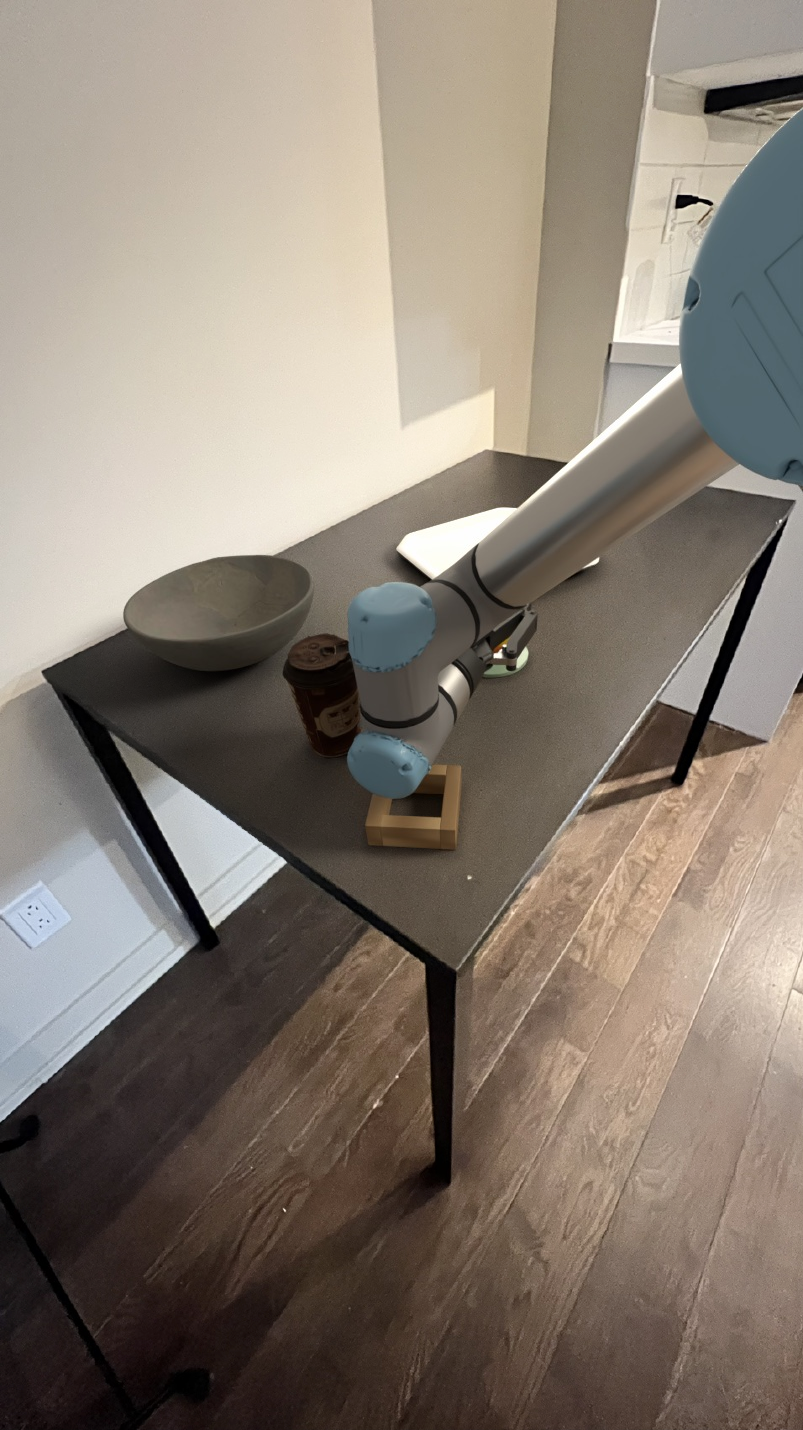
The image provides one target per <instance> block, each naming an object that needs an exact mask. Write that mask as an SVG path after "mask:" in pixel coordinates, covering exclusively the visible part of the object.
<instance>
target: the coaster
mask: <svg viewBox="0 0 803 1430" xmlns="http://www.w3.org/2000/svg"><path fill="white" fill-rule="evenodd" d="M528 649H529V648H528V647H527V646H526V647H525V648H524V650H523V651H522V653H521V654H520V656H519V657H518V659H517V668H516V670H515V671H508V670H506V665H493V667H492V668H491V669H489V670H487V671H486V672H485V673H484V674H483V676H482V678H488V679H494V678H503V677H507V676H511V675H513V674H515V673H518V672H519V671H521V670H522V669H523V668H524V667H525V666H526V665H527V663H528V660H529V650H528Z"/></svg>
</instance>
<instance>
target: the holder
mask: <svg viewBox="0 0 803 1430" xmlns="http://www.w3.org/2000/svg"><path fill="white" fill-rule="evenodd" d="M462 785H463V784H462V766H461V765H456V764H455V765H454V764H453V765H452V764H432V766H431V770H430V772H429V773H428V774H426V775H425V776H424V778H423V779H422V781H421V782H420V784H419V785H418V787H417V788H416V790H415V791H414V792H413V793H412V794H425V795H426V794H429V795H430V794H431V795H443V796H442V806H441V813H440V814H441V815H440V817H439V816H437V817H436V816H435V817H434V816H415V815H413V816H412V815H391V814H390V812H391V807H392V802H393V799H388V798H386V797H384V796H381V795H376V794H373V793H372V792H371V797H370V801H369V802H370V803H369V807H368V810H367V814H366V815H367V816H366V820H365V824H364V829H365V833H366V839H367V844H368V846H379V847H382V846H383V847H395V848H396V847H397V848H414V849H415V848H416V849H417V848H418V849H434V850H455V851H457V845H458V834H459V821H460V812H461V811H460V809H461V799H462Z"/></svg>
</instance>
